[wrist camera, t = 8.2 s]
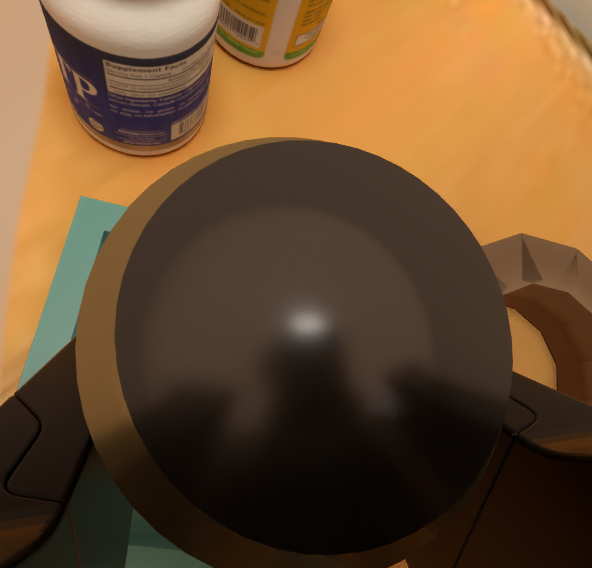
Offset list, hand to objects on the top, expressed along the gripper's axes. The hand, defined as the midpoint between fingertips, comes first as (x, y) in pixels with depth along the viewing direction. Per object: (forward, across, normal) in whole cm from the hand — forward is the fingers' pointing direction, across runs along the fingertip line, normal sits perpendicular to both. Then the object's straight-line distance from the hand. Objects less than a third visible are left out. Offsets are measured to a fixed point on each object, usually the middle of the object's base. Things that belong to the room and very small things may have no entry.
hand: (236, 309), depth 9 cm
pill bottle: (+14, +2, -2) cm, 14 cm away
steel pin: (+4, 0, +6) cm, 7 cm away
